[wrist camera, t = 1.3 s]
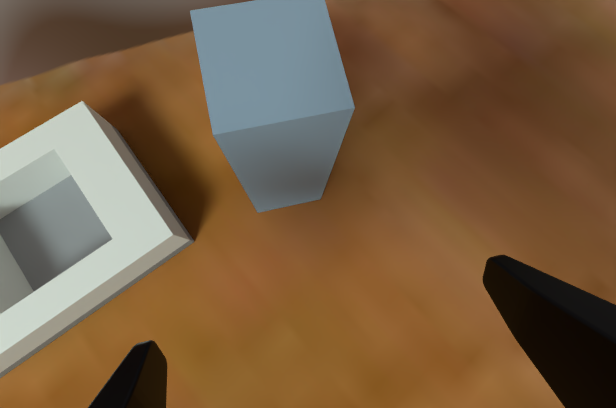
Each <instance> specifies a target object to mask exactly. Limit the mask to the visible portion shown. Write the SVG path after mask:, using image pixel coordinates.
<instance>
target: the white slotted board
mask: <svg viewBox="0 0 616 408" xmlns="http://www.w3.org/2000/svg"><path fill="white" fill-rule="evenodd" d="M193 242H194V240H193V239H192V237H191V236H190V234H189V233H188V231H187V230H186V229H185V227H184V226H183V224H182V223H181V221H180V220H179V218H178V217H177V215H176V214H175V213H174V211H173V210H172V208H171V207H170V205H169V204H168V202H167V201H166V199H165V198H164V197H163V195H162V194H161V192H160V191H159V189H158V188H157V186H156V185H155V183H154V182H153V181H152V179H151V178H150V176H149V175H148V173H147V172H146V170H145V169H144V168H143V166H142V165H141V163H140V162H139V160H138V159H137V157H136V156H135V154H134V153H133V152H132V150H131V149H130V147H129V146H128V144H127V143H126V141H125V140H124V138H123V137H122V136H121V134H120V133H119V131H118V130H117V129H116V128H115V127H114V126H112V125H111V124H110V123H109V122H107V121H106V120H105V119H104V118H103V117H101V116H100V115H99V114H98V113H96V112H95V111H94V110H93V109H92V108H90V107H89V106H88V105H87V104H85V103H84V102H83V101H81V102H80V103H78V104H76V105H74V106H73V107H71V108H69V109H68V110H66V111H64V112H62V113H61V114H59V115H57V116H56V117H54V118H52V119H50V120H49V121H47V122H45V123H44V124H42V125H40V126H38V127H37V128H35V129H33V130H32V131H30V132H28V133H27V134H25V135H23V136H21V137H20V138H18V139H16V140H15V141H13V142H11V143H9V144H8V145H6V146H4V147H3V148H1V149H0V378H1V377H3V376H4V375H5V374H7V373H8V372H10V371H11V370H12V369H14V368H15V367H17V366H18V365H20V364H21V363H22V362H24V361H25V360H27V359H28V358H30V357H31V356H32V355H34V354H35V353H37V352H38V351H40V350H41V349H42V348H44V347H45V346H47V345H48V344H49V343H51V342H52V341H54V340H55V339H57V338H58V337H59V336H61V335H62V334H64V333H65V332H67V331H68V330H69V329H71V328H72V327H74V326H75V325H77V324H78V323H79V322H81V321H82V320H84V319H85V318H86V317H88V316H89V315H91V314H92V313H94V312H95V311H96V310H98V309H99V308H101V307H102V306H104V305H105V304H106V303H108V302H109V301H111V300H112V299H113V298H115V297H116V296H118V295H119V294H121V293H122V292H123V291H125V290H126V289H128V288H129V287H131V286H132V285H133V284H135V283H136V282H138V281H139V280H141V279H142V278H143V277H145V276H146V275H148V274H149V273H150V272H152V271H153V270H155V269H156V268H158V267H159V266H160V265H162V264H163V263H165V262H166V261H168V260H169V259H170V258H172V257H173V256H175V255H176V254H178V253H179V252H180V251H182V250H183V249H185V248H186V247H187V246H189V245H190V244H192V243H193Z"/></svg>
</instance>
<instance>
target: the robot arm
mask: <svg viewBox="0 0 616 408" xmlns="http://www.w3.org/2000/svg"><path fill="white" fill-rule="evenodd" d="M483 284H484V286H485V288H486V290H487V292H488V293H489V295H490V297H491V299H492V300H493V302H494V304H495V305H496V307H497V309H498V311H499V312H500V314H501V316H502V317H503V319H504V321H505V323H506V324H507V326H508V328H509V329H510V331H511V333H512V334H513V336H514V337H515V339H516V340H517V342H518V343H519V345H520V346H521V347H522V349H523V350H524V351H525V353H526V354H527V356H528V357H529V358H530V360H531V361H532V363H533V364H534V365H535V367H536V368H537V369H538V371H539V372H540V374H541V375H542V376H543V378H544V379H545V380H546V382H547V383H548V385H549V386H550V387H551V389H552V390H553V392H554V393H555V394H556V396H557V397H558V398H559V400H560V401H561V403H562V404H563V405H564V407H565V408H616V305H615V304H612V303H610V302H608V301H606V300H603V299H601V298H599V297H597V296H595V295H592V294H590V293H588V292H586V291H584V290H581V289H579V288H577V287H575V286H573V285H570V284H568V283H566V282H564V281H561V280H559V279H557V278H555V277H553V276H550V275H548V274H546V273H544V272H542V271H539V270H537V269H535V268H533V267H531V266H528V265H526V264H524V263H522V262H519V261H517V260H515V259H513V258H511V257H508V256H506V255H498V256H494V257H490V258H489V259H488V260H487V262H486V266H485V270H484V274H483ZM166 390H167V361H166V358H165V356H164V355H163V353H162V352H161V350H160V349H159V347H158V346H157V344H156V343H155V342H154V341H152V340H149V341H145V342H141V343H138V344H136V345H135V346H133V348H132V349H131V350H130V352H129V353H128V354H127V356H126V357H125V358H124V360H123V361H122V362H121V364H120V365H119V366H118V368H117V369H116V370H115V372H114V373H113V374H112V376H111V377H110V379H109V380H108V381H107V383H106V384H105V385H104V387H103V388H102V389H101V391H100V392H99V393H98V395H97V396H96V397H95V399H94V400H93V401H92V403H91V404H90V405H89V407H88V408H166Z"/></svg>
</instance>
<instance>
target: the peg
mask: <svg viewBox="0 0 616 408" xmlns="http://www.w3.org/2000/svg"><path fill="white" fill-rule="evenodd" d="M190 13H191V19H192V24H193V29H194V35H195V40H196V46H197V51H198V56H199V62H200V67H201V73H202V78H203V84H204V89H205V94H206V100H207V105H208V111H209V116H210V122H211V127H212V132H213V136H214V138H215V139H216V141H217V143H218V145H219V146H220V148H221V150H222V151H223V153H224V155H225V157H226V158H227V160H228V162H229V164H230V165H231V167H232V169H233V171H234V172H235V174H236V176H237V178H238V179H239V181H240V183H241V184H242V186H243V188H244V190H245V191H246V193H247V195H248V197H249V198H250V200H251V202H252V204H253V205H254V207H255V209H256V211H257V212H258V213H259V212H264V211H268V210H273V209H277V208H282V207H287V206H291V205H296V204H301V203H305V202H310V201H314V200H319V199H321V197H322V194H323V192H324V189H325V186H326V184H327V181H328V178H329V176H330V173H331V170H332V168H333V165H334V162H335V160H336V157H337V154H338V151H339V149H340V146H341V143H342V141H343V138H344V135H345V133H346V130H347V127H348V125H349V122H350V119H351V117H352V114H353V111H354V109H355V106H354V103H353V99H352V96H351V92H350V89H349V85H348V81H347V78H346V74H345V71H344V67H343V64H342V60H341V57H340V53H339V49H338V46H337V42H336V39H335V35H334V32H333V28H332V25H331V21H330V18H329V14H328V10H327V7H326V3H325V0H256V1H250V2H243V3H236V4H230V5H224V6H218V7H211V8H204V9H198V10H192V11H190Z"/></svg>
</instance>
